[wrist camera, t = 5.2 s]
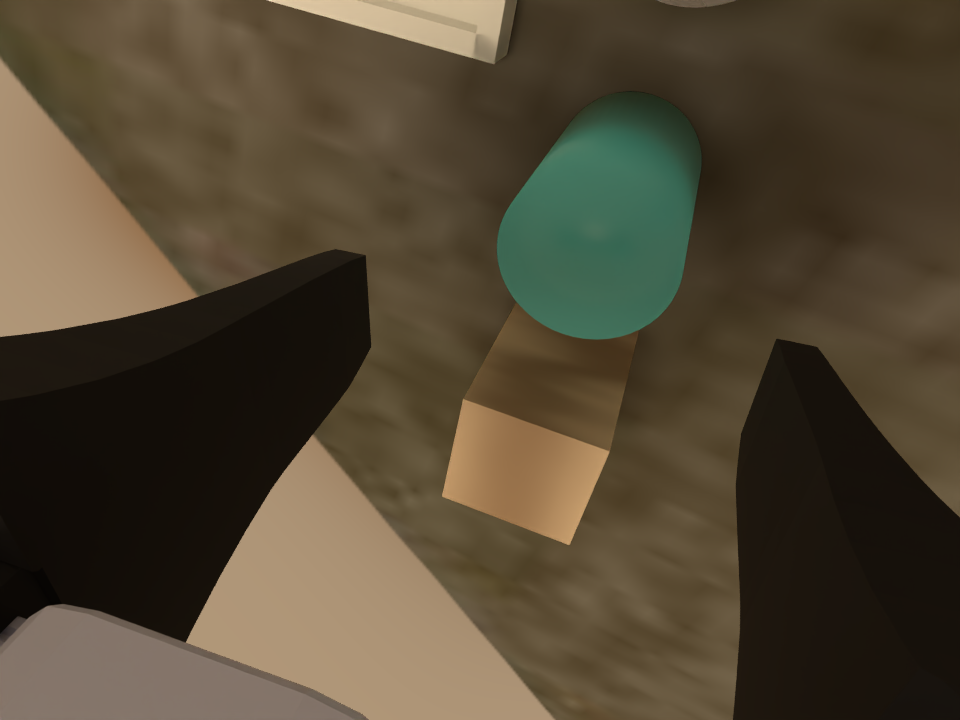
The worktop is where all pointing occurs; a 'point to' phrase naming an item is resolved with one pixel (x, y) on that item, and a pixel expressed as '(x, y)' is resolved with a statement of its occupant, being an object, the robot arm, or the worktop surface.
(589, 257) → the cylinder
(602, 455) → the oak block
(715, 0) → the cylinder
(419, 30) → the tray
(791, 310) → the worktop surface
